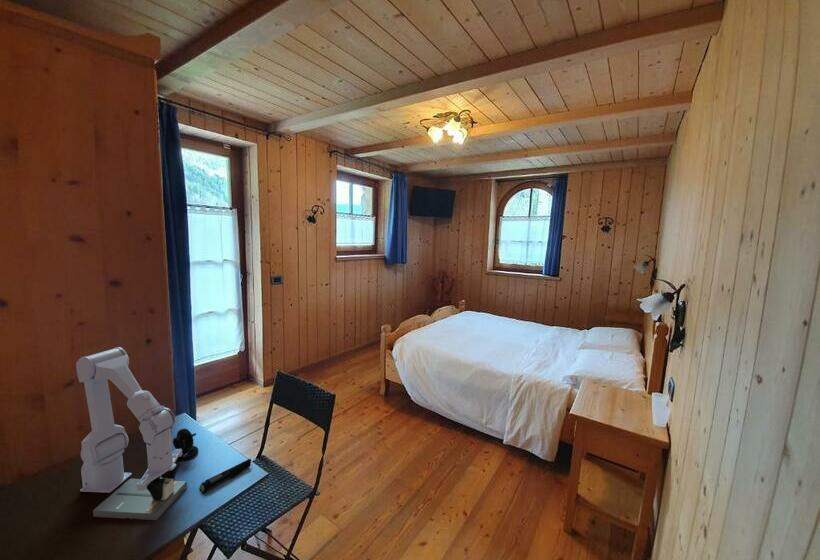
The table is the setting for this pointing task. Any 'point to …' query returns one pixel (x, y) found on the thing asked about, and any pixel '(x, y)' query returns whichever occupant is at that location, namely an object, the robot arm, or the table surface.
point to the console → (136, 502)
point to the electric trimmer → (224, 476)
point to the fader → (167, 488)
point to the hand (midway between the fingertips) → (163, 493)
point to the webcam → (185, 444)
